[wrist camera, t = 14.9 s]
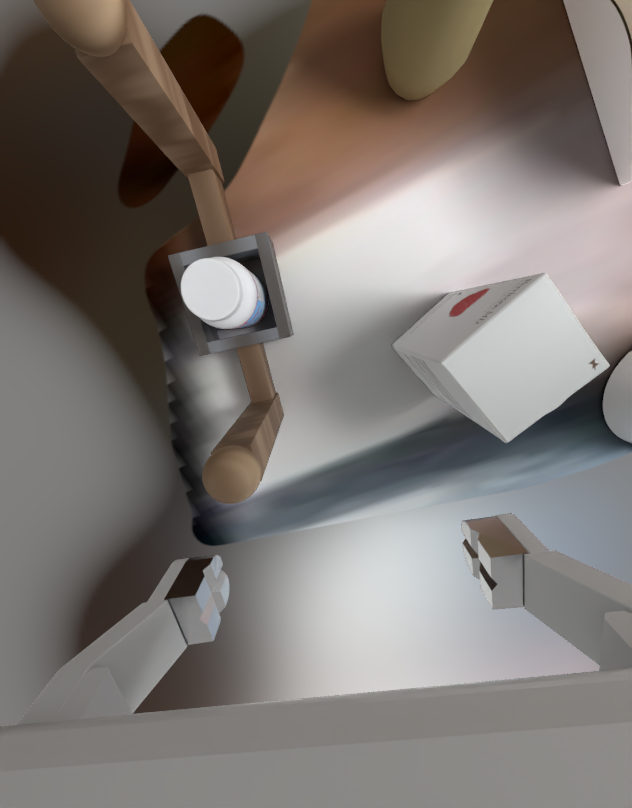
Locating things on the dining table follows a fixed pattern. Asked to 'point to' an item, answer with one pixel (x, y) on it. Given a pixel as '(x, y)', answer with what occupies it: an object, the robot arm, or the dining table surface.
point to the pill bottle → (224, 293)
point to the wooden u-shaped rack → (197, 159)
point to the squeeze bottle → (428, 42)
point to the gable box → (608, 70)
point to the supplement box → (502, 353)
